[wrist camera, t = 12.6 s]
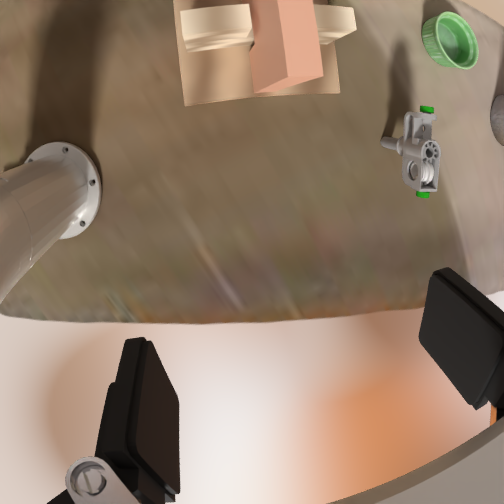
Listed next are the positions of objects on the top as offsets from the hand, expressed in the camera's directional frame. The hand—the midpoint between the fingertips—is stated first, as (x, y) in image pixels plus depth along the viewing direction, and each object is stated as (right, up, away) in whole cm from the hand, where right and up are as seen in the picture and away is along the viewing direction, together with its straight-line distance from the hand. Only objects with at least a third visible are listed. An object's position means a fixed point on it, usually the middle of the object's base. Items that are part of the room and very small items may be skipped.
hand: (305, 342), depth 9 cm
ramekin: (+26, +34, +22) cm, 48 cm away
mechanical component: (+16, +18, +28) cm, 37 cm away
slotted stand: (-1, +28, +21) cm, 34 cm away
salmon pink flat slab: (-1, +27, +19) cm, 33 cm away
